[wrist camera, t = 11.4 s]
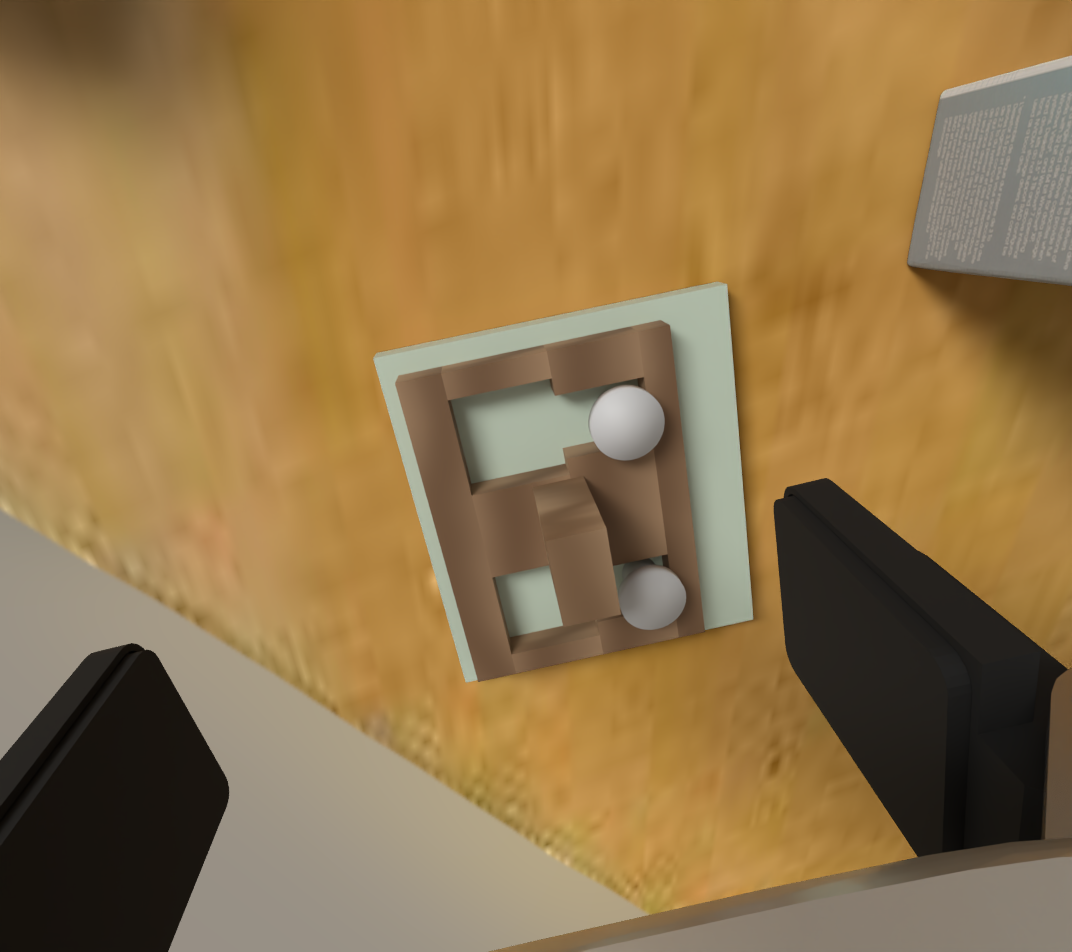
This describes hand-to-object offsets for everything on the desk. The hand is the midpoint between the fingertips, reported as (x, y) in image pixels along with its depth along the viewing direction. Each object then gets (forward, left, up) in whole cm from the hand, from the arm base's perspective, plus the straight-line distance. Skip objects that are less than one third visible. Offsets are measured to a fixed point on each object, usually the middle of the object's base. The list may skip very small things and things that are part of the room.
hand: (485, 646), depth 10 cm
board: (-4, +8, -23) cm, 24 cm away
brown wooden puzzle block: (-3, +8, -21) cm, 23 cm away
